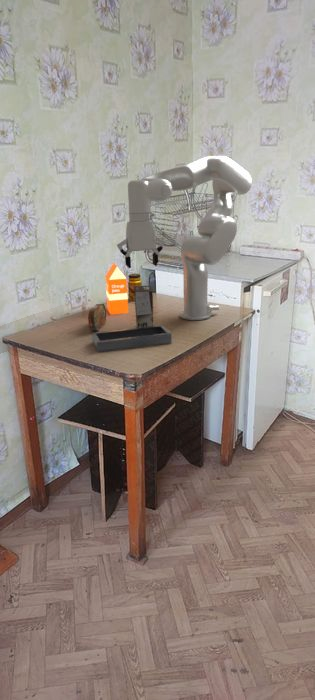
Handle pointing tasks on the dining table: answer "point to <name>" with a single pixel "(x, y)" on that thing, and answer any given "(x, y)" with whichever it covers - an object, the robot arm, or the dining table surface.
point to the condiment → (133, 286)
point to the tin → (97, 317)
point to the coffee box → (144, 306)
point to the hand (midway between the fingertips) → (142, 266)
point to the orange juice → (116, 291)
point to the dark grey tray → (131, 338)
